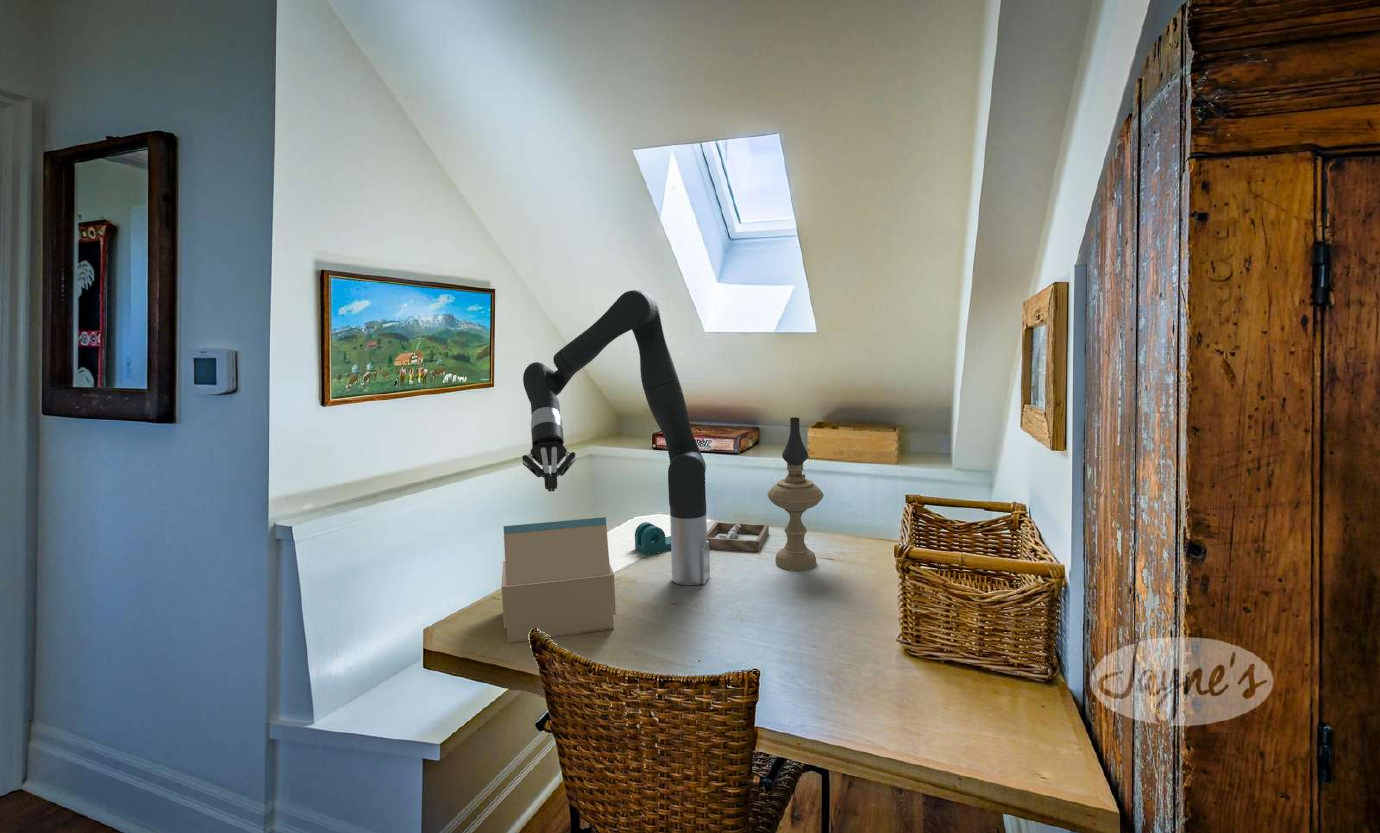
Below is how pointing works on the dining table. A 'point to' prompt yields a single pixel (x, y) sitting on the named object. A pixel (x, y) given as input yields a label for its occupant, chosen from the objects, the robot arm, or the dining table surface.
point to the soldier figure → (731, 532)
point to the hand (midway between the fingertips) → (551, 489)
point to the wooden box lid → (556, 550)
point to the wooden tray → (737, 543)
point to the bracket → (651, 539)
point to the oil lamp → (795, 503)
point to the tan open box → (558, 606)
